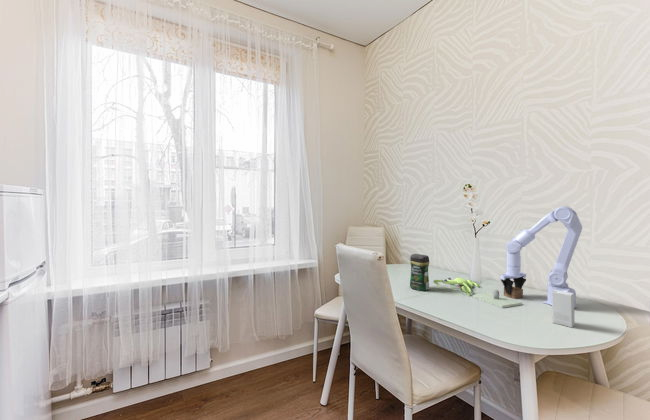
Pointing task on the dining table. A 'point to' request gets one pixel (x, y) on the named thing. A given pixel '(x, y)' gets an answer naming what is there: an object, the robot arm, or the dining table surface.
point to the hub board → (497, 299)
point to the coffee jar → (419, 272)
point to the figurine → (459, 283)
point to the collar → (514, 293)
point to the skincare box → (563, 308)
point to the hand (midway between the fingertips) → (513, 293)
